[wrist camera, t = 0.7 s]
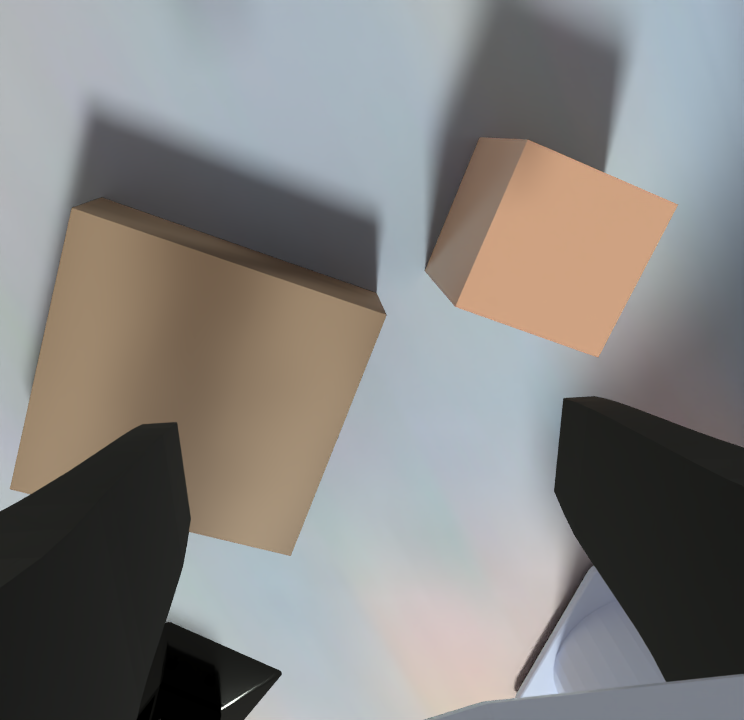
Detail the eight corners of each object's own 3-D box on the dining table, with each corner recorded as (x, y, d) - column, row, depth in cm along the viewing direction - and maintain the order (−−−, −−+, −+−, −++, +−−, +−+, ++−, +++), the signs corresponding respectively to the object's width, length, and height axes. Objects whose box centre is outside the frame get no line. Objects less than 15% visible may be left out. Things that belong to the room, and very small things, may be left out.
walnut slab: (375, 290, 21) (386, 315, 18) (291, 505, 24) (290, 555, 21) (105, 196, 19) (71, 207, 16) (47, 442, 22) (9, 488, 19)
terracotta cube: (600, 188, 20) (678, 204, 16) (540, 313, 22) (598, 357, 17) (478, 136, 19) (527, 139, 15) (424, 270, 21) (455, 306, 16)
